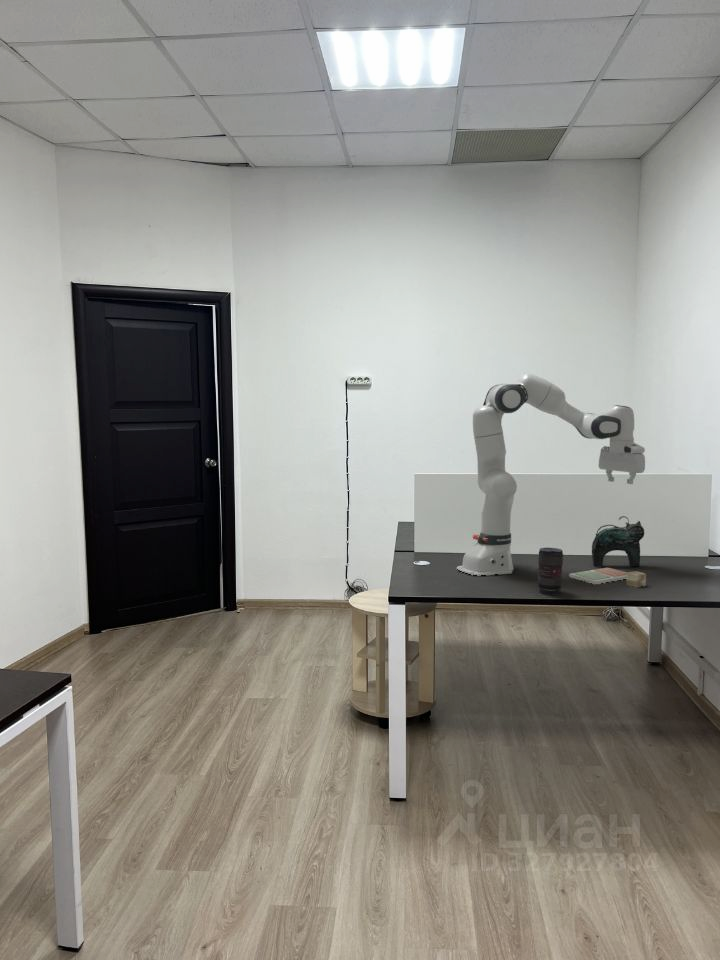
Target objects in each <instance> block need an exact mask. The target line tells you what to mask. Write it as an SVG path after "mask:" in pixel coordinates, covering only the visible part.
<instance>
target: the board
mask: <svg viewBox="0 0 720 960" xmlns="http://www.w3.org/2000/svg"><path fill="white" fill-rule="evenodd" d="M627 573H628V572H626V571H623V570H620V569H615V568H611V567H604V568H603V567H602V568H598V569H590V570H585V571H578V572H572V573H569V574H568V576H569V578H572V579H574V578H575V580H578V581H581V580H582V582H584V581H585V583H589V584H591V583H592V584H591V585H595V586H596V584H597V585H602V584H601V583H603V584H607V583H606V582H609V583H612V582H611V581H615V582H618V581H617V580H621V581H624V580H623V579H626V580H627Z"/></svg>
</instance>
